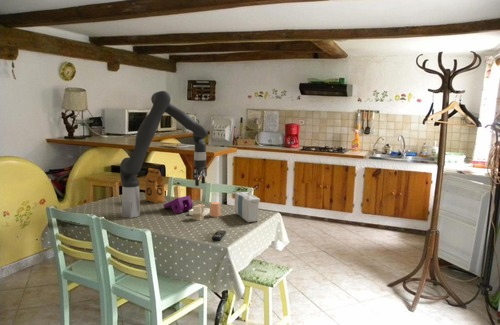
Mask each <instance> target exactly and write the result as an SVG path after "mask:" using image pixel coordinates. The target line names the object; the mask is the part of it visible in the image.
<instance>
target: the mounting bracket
mask: <svg viewBox="0 0 500 325" xmlns="http://www.w3.org/2000/svg"><path fill="white" fill-rule="evenodd" d="M163 208H164V210H165V209H169V208H171V210H172V211H173V213H174V214H177V215H179V214H181V213H183V212H184V211H185V212H189V210H191V209H193V201H192V198H191V195H185V196H181V197H177V198H175V199H172V200H171V201H168V202H167V203H165V204H163Z"/></svg>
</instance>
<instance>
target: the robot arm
mask: <svg viewBox="0 0 500 325" xmlns="http://www.w3.org/2000/svg"><path fill="white" fill-rule="evenodd" d="M150 100H151V104H152V107H151V109H150V111H149V112H148V114H147V115H146V117H145V118H144V119H143V120H142V122H141V124H140V126H139V128H138V130H137V133H136V136H135V143H134V148H133V151H132V154H131V155H130V157H129V156H128V157H124V158H123V159H122V160H121V162H120V165H119V171H120V172H119V174H120V182H121V184H122V186H121V188H122V200H121V217H122V218H129V219H133V218H137V217H139V216H140V215H141V212H140V211H141V209H140V208H141V207H140V206H141V205H140V203H141V202H140V201H141V200H140V198H141V197H140V180H139V179H138V176H137V174H139V172H140V171H141V169H142V166H143V164H144V160H145V158H146V155H147V152H148V150H149V148H150V145H151V143H152V141H153V140H154V137H155V135H156V132H157V130H158V128H159V125H160V122H161V120H162V117H163V115H164V114H165V113H166V114H168V115H169V116H171V117H172V118H173V119H174V120H175V121H176V122H178V123H179V124H180V125H182V126H183V128H185V129H186V130H188V131H190V132H192V138H193V144H194V154H193V158H194V159H193V160H194V161H193V165H194V167H195V169H192V171H193V172H192V173H193V176H192V179H193V180H194V181H195V182H194V184H195V187H198V186H200V180H201V184H206V177H207V176H208V167H207V152H206V151H207V144H206V142H205V138H207V137H208V133H209V132H208V129H207V128H206V127H204V126H203V125H202V124H200V123H199V122H197V121H196V120H194V118H192V116H190V115H189V114H188V113H186V112H185V111H183V110H182V109H179V108H178V107H176V106H175V105H173V104H172V103H171V95H170V93H169V92H167V90H166V91H165V90H160V91H157V92H154V93H153V94H152V95H151V96H150ZM200 177H201V179H200Z"/></svg>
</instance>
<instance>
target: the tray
mask: <svg viewBox="0 0 500 325" xmlns="http://www.w3.org/2000/svg"><path fill="white" fill-rule="evenodd" d="M208 214H211V208H209V207H204V217H205V216H206V215H208ZM188 215H189V216H193V208H192V209H191V210H189V211H188Z"/></svg>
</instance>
